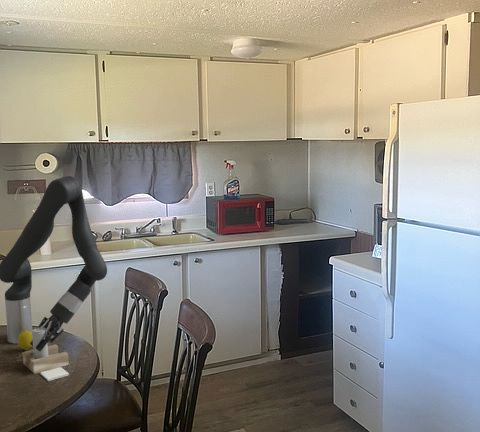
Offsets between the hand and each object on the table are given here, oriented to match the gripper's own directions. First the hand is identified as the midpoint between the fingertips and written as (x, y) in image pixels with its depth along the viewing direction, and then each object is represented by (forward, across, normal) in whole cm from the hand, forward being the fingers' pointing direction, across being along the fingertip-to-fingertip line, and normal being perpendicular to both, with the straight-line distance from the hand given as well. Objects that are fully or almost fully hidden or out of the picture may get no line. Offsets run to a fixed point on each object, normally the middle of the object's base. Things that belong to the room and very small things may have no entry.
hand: (35, 347), depth 189 cm
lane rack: (+3, 0, +7) cm, 8 cm away
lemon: (+3, -17, +7) cm, 19 cm away
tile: (+3, +11, +6) cm, 13 cm away
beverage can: (+3, 0, +6) cm, 6 cm away
